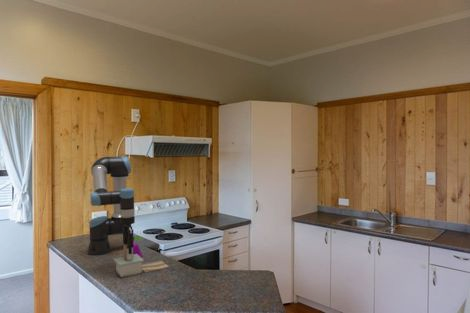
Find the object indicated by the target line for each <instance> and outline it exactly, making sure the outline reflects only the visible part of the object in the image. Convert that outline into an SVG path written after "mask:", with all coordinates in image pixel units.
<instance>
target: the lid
mask: <svg viewBox="0 0 470 313" xmlns="http://www.w3.org/2000/svg"><path fill="white" fill-rule="evenodd" d="M122 247H123V256H119V257H115V258H114V257H113V261H114V263H115V265H116V264H117V265H118V266H119V267H122V266H127V265H132V264H137V263H141V264H143V263H144V258H143V257H142V258H141V257H140V256H139V255H138V254H134V255H133V247H132V257H133V259H131V260H127V249H126V248H127V244H124V243H123V246H122Z"/></svg>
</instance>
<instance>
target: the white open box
mask: <svg viewBox="0 0 470 313" xmlns="http://www.w3.org/2000/svg"><path fill="white" fill-rule="evenodd" d="M142 264H143V263H137V264H132V265H127V266H122V267H119V266H118V265H117V264H116V263H115V269H116V270H115V271H116V273H117V274H118V276H119V277H120V278H125V277H129V276H130V277H131V276H133V275H140V274H142V272H143V271H142Z"/></svg>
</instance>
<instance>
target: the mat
mask: <svg viewBox="0 0 470 313" xmlns="http://www.w3.org/2000/svg"><path fill="white" fill-rule="evenodd" d="M141 264H142V272H143V273H144V274H148V273H152V272H157V271H161V270H165V269H169V268H170V266H169V265H168V264H166V263H165V262H164V261H163V260H160V259H159V260H155V261H150V262H147V263H146V262H145V263H141Z"/></svg>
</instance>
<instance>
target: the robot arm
mask: <svg viewBox="0 0 470 313" xmlns="http://www.w3.org/2000/svg"><path fill="white" fill-rule="evenodd" d="M90 173H91V176H92V181H93V182H92V183H93V192H91V193H90V205H91V206H94V207H95V206H97V207H100V206H109V205H111V206H112V205H113V212H112V214H111V215H110V217H109V216H107V215H105V216H104V215H103V216H97V217H94V218H92V219H90V221H89V243H88V247H87V249H86V253H87V255H89V256H101V255H104V254H105V255H106V254H108V253H110V252H112V246H111V243H110V240H109V236H114V235H115V236H116V235H122V244H123V245H124V244H127V248H126V249H127V260H131V259H133V257H132V247H134V246H133V237H134V229H133V226H132V224H133V225H134V224H135V214H136V213H135V212H136V211H135V190H134V188H131V187H129V188H127V178H128V177H129V174H131V173H132V172H131V163H130V159H129V157H128V156H104V157H100V158H98V159H96V160H95V161H94V162H93V164H92V165H91V168H90ZM107 175H110V178H112V185H113V186H112V190H111V191H109V190H108V183H107V182H108V181H107Z"/></svg>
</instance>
